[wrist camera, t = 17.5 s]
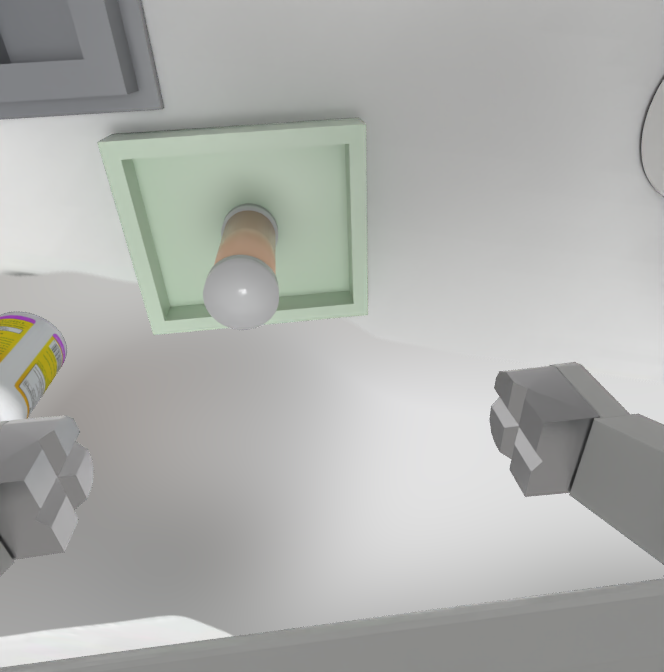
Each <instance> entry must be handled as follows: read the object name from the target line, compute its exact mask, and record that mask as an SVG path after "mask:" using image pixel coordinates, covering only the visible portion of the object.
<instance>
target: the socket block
mask: <svg viewBox="0 0 664 672" xmlns="http://www.w3.org/2000/svg"><path fill="white" fill-rule="evenodd" d="M162 108H164V106H163V101H162V97H161V92H160V87H159V83H158V78H157V73H156V68H155V64H154V59H153V54H152V50H151V45H150V40H149V36H148V31H147V26H146V22H145V17H144V12H143V8H142V3H141V0H0V119H16V118H31V117H47V116H63V115H78V114H94V113H109V112H125V111H141V110H156V109H162Z"/></svg>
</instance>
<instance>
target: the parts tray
mask: <svg viewBox="0 0 664 672" xmlns="http://www.w3.org/2000/svg"><path fill="white" fill-rule="evenodd" d="M97 143H98V147H99V150H100V153H101V157H102V160H103V164H104V167H105V171H106V174H107V177H108V181H109V184H110V188H111V191H112V195H113V198H114V201H115V205H116V208H117V212H118V215H119V219H120V222H121V225H122V229H123V232H124V236H125V239H126V243H127V246H128V250H129V253H130V256H131V260H132V263H133V267H134V270H135V274H136V277H137V280H138V284H139V287H140V290H141V294H142V297H143V301H144V304H145V308H146V311H147V315H148V318H149V322H150V325H151V329H152V332H153V335H158V334H168V333H180V332H191V331H201V330H212V329H223V328H229V327H226V326H224V325H222V324H220V323H219V322H217V321H216V320H215V319H214V318H213V317H212V316H211V315H210V314H209V312H208V311H207V309H206V307H205V304H204V300H203V289H204V285H205V282H206V279H207V276H208V273H209V271H210V270H211V268H212V267H213V266H214V263H215V260H216V256H217V253H218V249H219V245H220V242H221V229H222V225H223V222H224V219H225V217H226V215H227V214H228V212H229V211H230V210H232V209H233V208H234V207H236V206H238V205H241V204H246V203H251V204H257V205H260V206H262V207H264V208H265V209H267V210H268V211H269V212H270V213H271V214H272V215H273V217H274V218H275V220H276V223H277V226H278V242H277V245H276V277H277V280H278V284H279V304H278V307H277V310H276V312H275V314H274V315H273V316H272V318H271V319H270V320H269V321H267V322H266V323H265V324H275V323H287V322H297V321H309V320H319V319H330V318H341V317H352V316H362V315H368V275H367V171H366V124H365V123H364V122H363V121H362V120H361V119H359V118H346V119H331V120H317V121H302V122H287V123H272V124H257V125H242V126H227V127H212V128H197V129H182V130H167V131H152V132H137V133H122V134H112V135H110V136H108V137H106V138H104V139H102V140H100V141H99V142H97ZM265 324H263V325H265Z"/></svg>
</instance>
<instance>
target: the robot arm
mask: <svg viewBox="0 0 664 672" xmlns="http://www.w3.org/2000/svg"><path fill="white" fill-rule="evenodd" d="M641 153H642V162H643V167H644V170H645V173H646V176H647V178H648V180H649V181H650V183H651V184H652V186H653V187H654V188H655V189H656V190H657V191H658V192H659V193H660V194H661V195H662V196H664V79H663V81H662V83H661V85H660V86H659V88H658V90H657V92H656V94H655V96H654V98H653V100H652V103H651V105H650V108H649V111H648V113H647V117H646V120H645V124H644V128H643V134H642V145H641ZM494 388H495V390H496V392H497V393H498V395H499V396H500V397H499V398H498V399H497V400H496V401H495V403H493V405H492V406H491V412H490V426H491V433H492V436H493V439H494V442H495V444H496V446H497V448H498V450H499V451H500V452H501V453H502V454H504V455H506V456H507V457H509V458H510V459H512V460H511V464H510V471H511V473H512V475H513V476H514V478H515V480H516V482H517V483H518V485H519V487H520V488H521V490H522V492H523V493H524V496H525V497H527V496H539V495H550V494H561V493H570V496H572V497H573V498H574V499H576V500H577V501H579V502H580V503H581V504H582V505H584V506H585V507H586V508H588V509H589V510H591V511H592V512H593V513H595V514H596V515H598V516H599V517H600V518H601V519H603V520H604V521H605V522H607V523H608V524H609V525H611V526H612V527H614V528H615V529H616V530H618V531H619V532H620V533H622V534H623V535H624V536H626V537H627V538H628V539H630V540H631V541H633V542H634V543H635V544H636V545H638V546H639V547H640V548H642V549H643V550H645V551H646V552H648V553H649V554H650V555H651V556H653V557H654V558H655V559H657V560H658V561H659V562H661V563H662V564H663V565H664V425H663V424H661V423H659V422H656V421H654V420H652V419H649V418H647V417H645V416H643V415H640V414H632V415H630V414H629V413H628V412H627V411H626V410H625V409H624V407H622V406H621V404H620V403H618V401H616V399H615V398H614V397H613V396H612V395H611V394H610V393H609V392H608V391H607V390H606V389H605V388H604V387H603V386H602V385H601V384H600V383H599V382H598V381H597V380H596V379H595V378H594V377H593V376H592V375H591V374H590V373H589V372H588V371H587V370H586V369H585V368H584V367H583V366H582V365H581V364H578V363H576V362H571V363H563V364H555V365H550V366H545V367H536V368H527V369H518V370H508V371H500V372H499V374H498V376H497V377H496V382H495V387H494ZM79 433H80V431H79V428H78V427H77V425H76V423H75V421H74V419H73V418H71V417H69V416H56V417H43V418H30V419H18V420H11V421H0V576H1V575H2V574H3V573H4V572H5V571H6V570H7V569H8V568H9V567H10V566H11V565H12V564H13V563H14V560H15V559H22V558H29V557H36V556H43V555H49V554H56V553H63V552H65V551H66V548H67V546H68V543H69V541H70V539H71V536H72V534H73V532H74V529H75V527H76V525H77V522H78V517H77V515H76V513H75V511H74V510H75V509H76V508H77V507H79V506H80V505H81V504H82V503H83V502H84V501H85V500H87V498H88V496H89V493H90V491H91V488H92V484H93V475H94V468H93V462H92V458H91V455H90V453H89V451H88V449H87V448H85V447H83V446H82V445H81V444H79V443H77V442H76V439H77V437H78V435H79ZM0 672H664V576H663V578H662V579H656V580H649V581H641V582H633V583H626V584H618V585H611V586H603V587H596V588H589V589H582V590H574V591H567V592H559V593H552V594H544V595H537V596H529V597H522V598H514V599H508V600H500V601H492V602H485V603H478V604H470V605H463V606H456V607H449V608H441V609H433V610H426V611H419V612H411V613H404V614H396V615H389V616H382V617H375V618H367V619H359V620H352V621H345V622H338V623H330V624H322V625H315V626H307V627H300V628H293V629H285V630H278V631H270V632H263V633H255V634H248V635H240V636H233V637H225V638H218V639H210V640H203V641H195V642H188V643H180V644H173V645H166V646H158V647H151V648H143V649H136V650H128V651H121V652H113V653H106V654H99V655H91V656H84V657H76V658H69V659H61V660H54V661H46V662H39V663H32V664H24V665H17V666H9V667H2V668H0Z"/></svg>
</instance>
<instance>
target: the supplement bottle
mask: <svg viewBox="0 0 664 672" xmlns="http://www.w3.org/2000/svg"><path fill="white" fill-rule="evenodd" d="M66 354H67V347H66V342H65V340H64V337H63V336H62V334H61V333H60V331H59V330H58V329H57V328H56V327H55V326H54V325H53V324H51V323H50V322H48V321H47V320H45V319H44V318H42V317H39V316H37V315H34V314H30V313H26V312H9V313H4V314H1V315H0V421H11V420H18V419H27V418H28V417H29V415H30V414H31V412H32V411H33V409H34V408H35V406H36V405H37V403H38V401H39V400H40V398H41V397H42V395H43V394H44V392H45V391H46V390H47V388H48V386H49V385H50V383H51V382H52V380H53V379H54V377H55V376H56V374H57V372H58V371H59V370H60V368H61V367H62V365H63V363H64V361H65V358H66Z"/></svg>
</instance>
